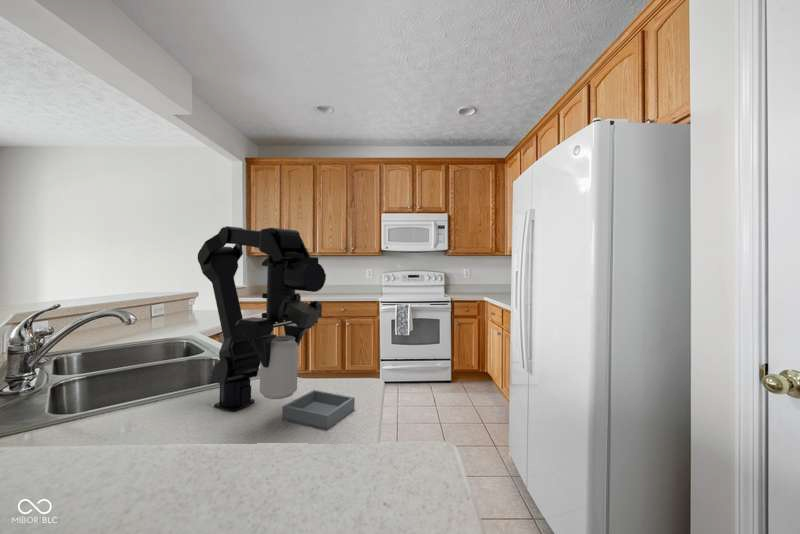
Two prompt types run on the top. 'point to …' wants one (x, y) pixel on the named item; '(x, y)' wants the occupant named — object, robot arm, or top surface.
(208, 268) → the robot arm
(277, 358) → the can
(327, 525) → the top surface
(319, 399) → the bin
